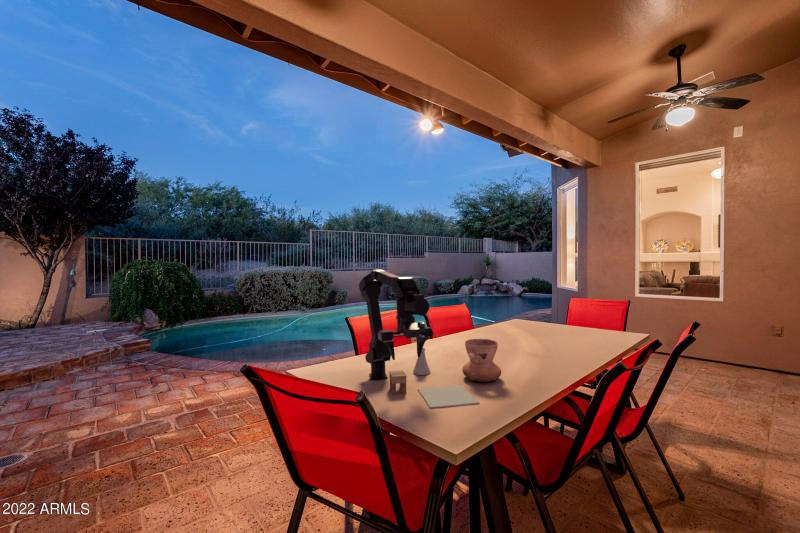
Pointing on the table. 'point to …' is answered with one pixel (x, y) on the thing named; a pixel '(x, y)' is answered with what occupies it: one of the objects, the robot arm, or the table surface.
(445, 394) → the sage mat
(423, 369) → the flask
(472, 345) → the ceramic jug
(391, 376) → the walnut stool
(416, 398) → the table surface
